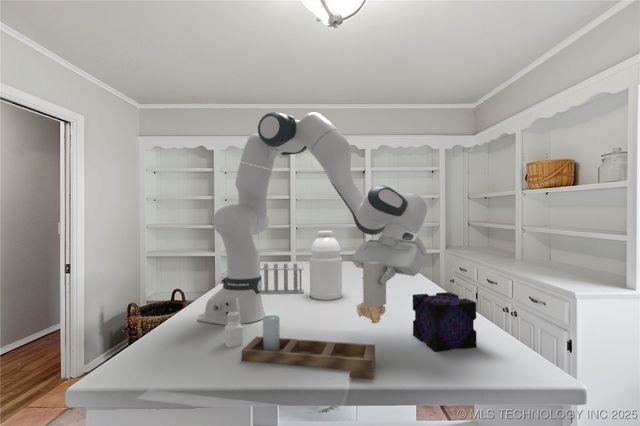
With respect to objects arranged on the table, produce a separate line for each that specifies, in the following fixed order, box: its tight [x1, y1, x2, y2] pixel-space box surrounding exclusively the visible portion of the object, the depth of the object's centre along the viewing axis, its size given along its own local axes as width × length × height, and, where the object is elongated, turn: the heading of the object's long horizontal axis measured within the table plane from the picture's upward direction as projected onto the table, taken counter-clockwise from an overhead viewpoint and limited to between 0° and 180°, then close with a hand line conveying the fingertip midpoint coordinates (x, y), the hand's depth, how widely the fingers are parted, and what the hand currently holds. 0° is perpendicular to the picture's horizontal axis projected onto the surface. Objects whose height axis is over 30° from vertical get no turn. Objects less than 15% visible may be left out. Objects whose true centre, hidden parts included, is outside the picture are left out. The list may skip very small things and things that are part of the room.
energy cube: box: [412, 291, 477, 353], centre depth 95 cm, size 12×12×12 cm
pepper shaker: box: [224, 312, 244, 348], centre depth 91 cm, size 4×4×10 cm
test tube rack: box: [260, 262, 305, 295], centre depth 155 cm, size 25×4×13 cm, turn 89°
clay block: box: [362, 261, 387, 308], centre depth 89 cm, size 4×5×11 cm
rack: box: [241, 336, 376, 380], centre depth 82 cm, size 30×9×4 cm, turn 78°
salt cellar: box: [262, 314, 281, 352], centre depth 84 cm, size 4×4×9 cm
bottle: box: [309, 230, 343, 301], centre depth 147 cm, size 14×14×28 cm
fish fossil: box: [356, 301, 386, 324], centre depth 123 cm, size 26×10×1 cm, turn 177°
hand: (373, 282), depth 89 cm, fingers closed on clay block, 3 cm apart
